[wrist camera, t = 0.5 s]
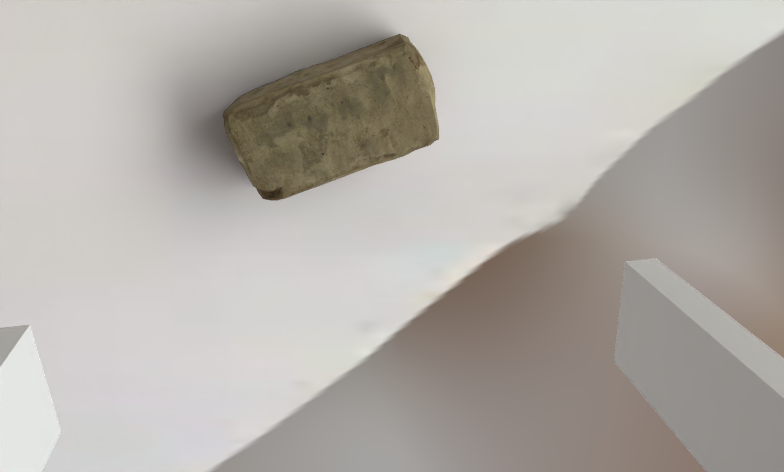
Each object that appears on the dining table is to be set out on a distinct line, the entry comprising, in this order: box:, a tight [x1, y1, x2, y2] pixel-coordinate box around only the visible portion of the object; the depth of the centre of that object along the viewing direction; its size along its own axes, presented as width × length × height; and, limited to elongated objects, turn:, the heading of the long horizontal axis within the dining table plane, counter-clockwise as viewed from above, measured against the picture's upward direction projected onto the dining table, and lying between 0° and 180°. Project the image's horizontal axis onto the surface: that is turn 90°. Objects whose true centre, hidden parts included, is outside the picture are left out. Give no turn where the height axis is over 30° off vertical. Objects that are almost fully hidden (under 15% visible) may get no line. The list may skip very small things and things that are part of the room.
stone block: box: [223, 34, 439, 200], centre depth 36 cm, size 6×12×5 cm, turn 110°
